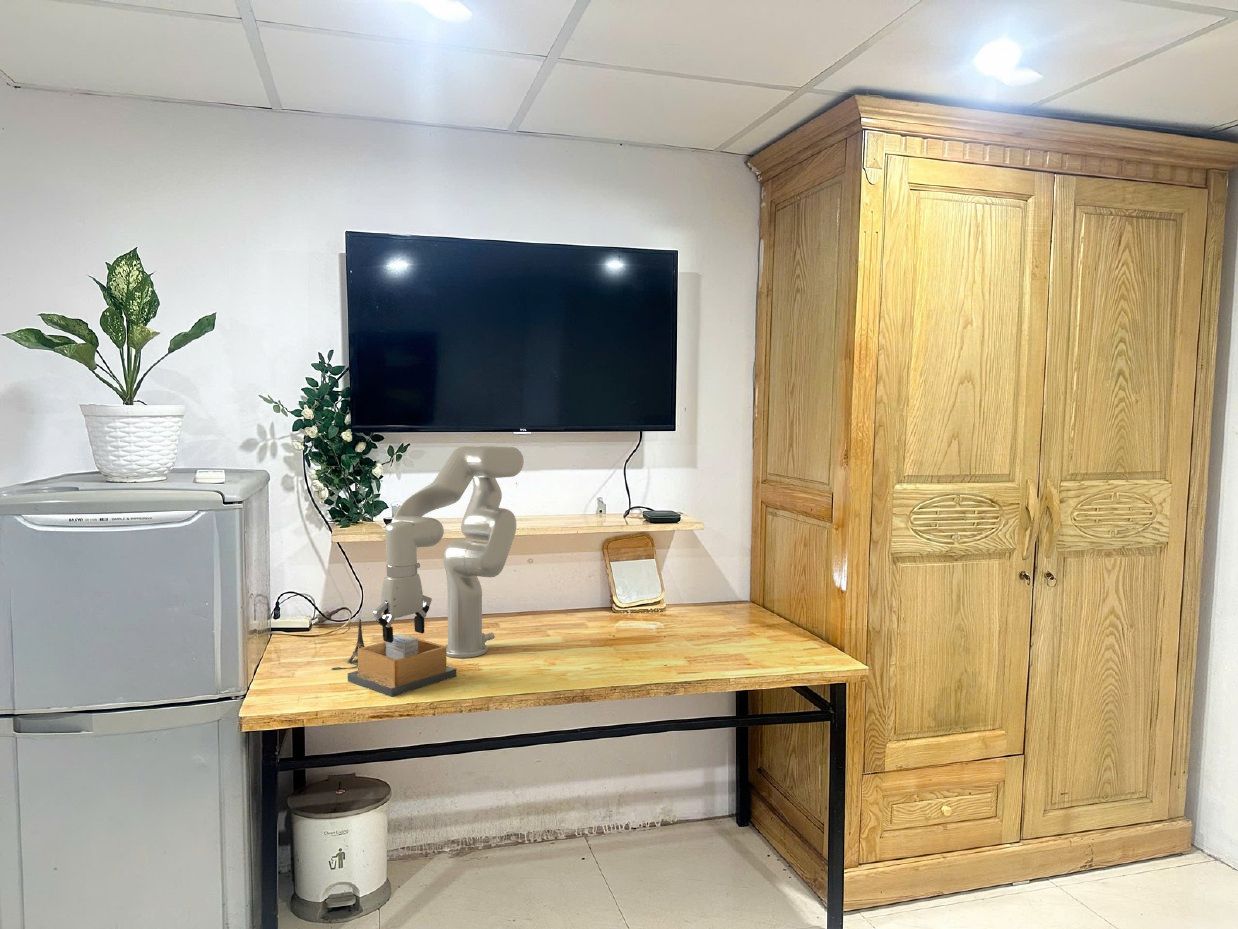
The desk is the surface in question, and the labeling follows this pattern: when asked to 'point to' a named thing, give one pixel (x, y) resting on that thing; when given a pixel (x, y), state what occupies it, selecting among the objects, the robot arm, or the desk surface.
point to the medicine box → (401, 646)
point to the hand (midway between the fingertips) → (404, 637)
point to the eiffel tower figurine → (355, 653)
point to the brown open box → (401, 668)
